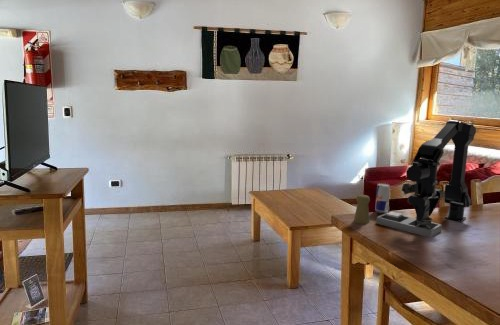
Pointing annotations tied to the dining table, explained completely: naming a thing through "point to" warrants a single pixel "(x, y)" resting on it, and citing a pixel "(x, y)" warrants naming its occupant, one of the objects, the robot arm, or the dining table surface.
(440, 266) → the dining table surface
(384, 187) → the energy drink
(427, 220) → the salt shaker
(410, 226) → the socket strip
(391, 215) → the plugged module
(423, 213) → the robot arm
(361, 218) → the olive pepper mill
